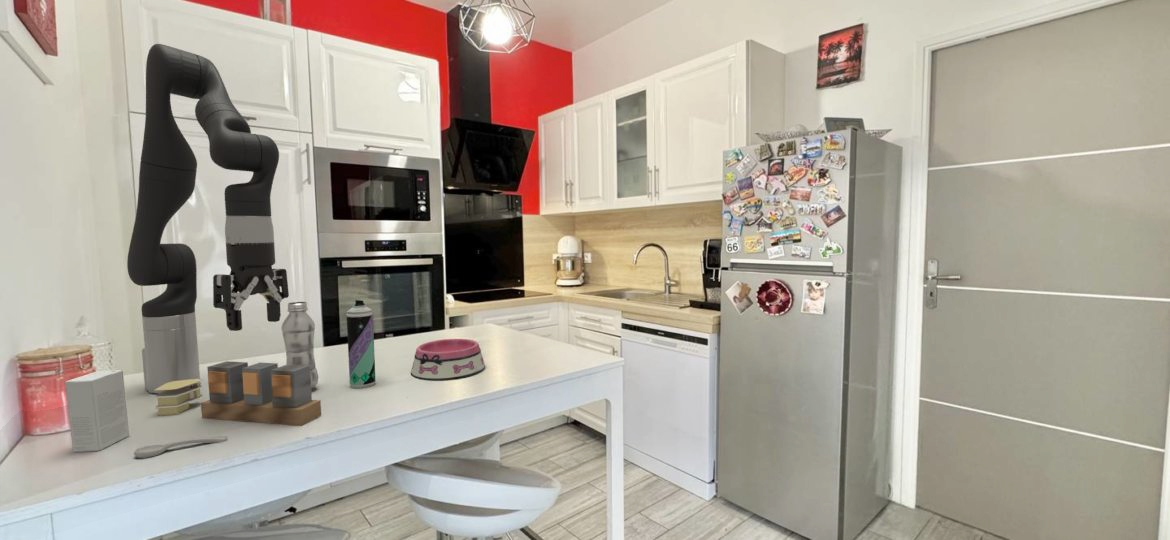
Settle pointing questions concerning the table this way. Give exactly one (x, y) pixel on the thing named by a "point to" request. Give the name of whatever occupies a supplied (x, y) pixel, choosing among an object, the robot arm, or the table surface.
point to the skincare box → (97, 410)
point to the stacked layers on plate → (177, 396)
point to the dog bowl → (447, 360)
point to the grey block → (258, 383)
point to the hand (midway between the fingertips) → (255, 325)
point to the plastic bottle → (300, 338)
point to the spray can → (361, 345)
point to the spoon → (158, 449)
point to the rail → (285, 408)
